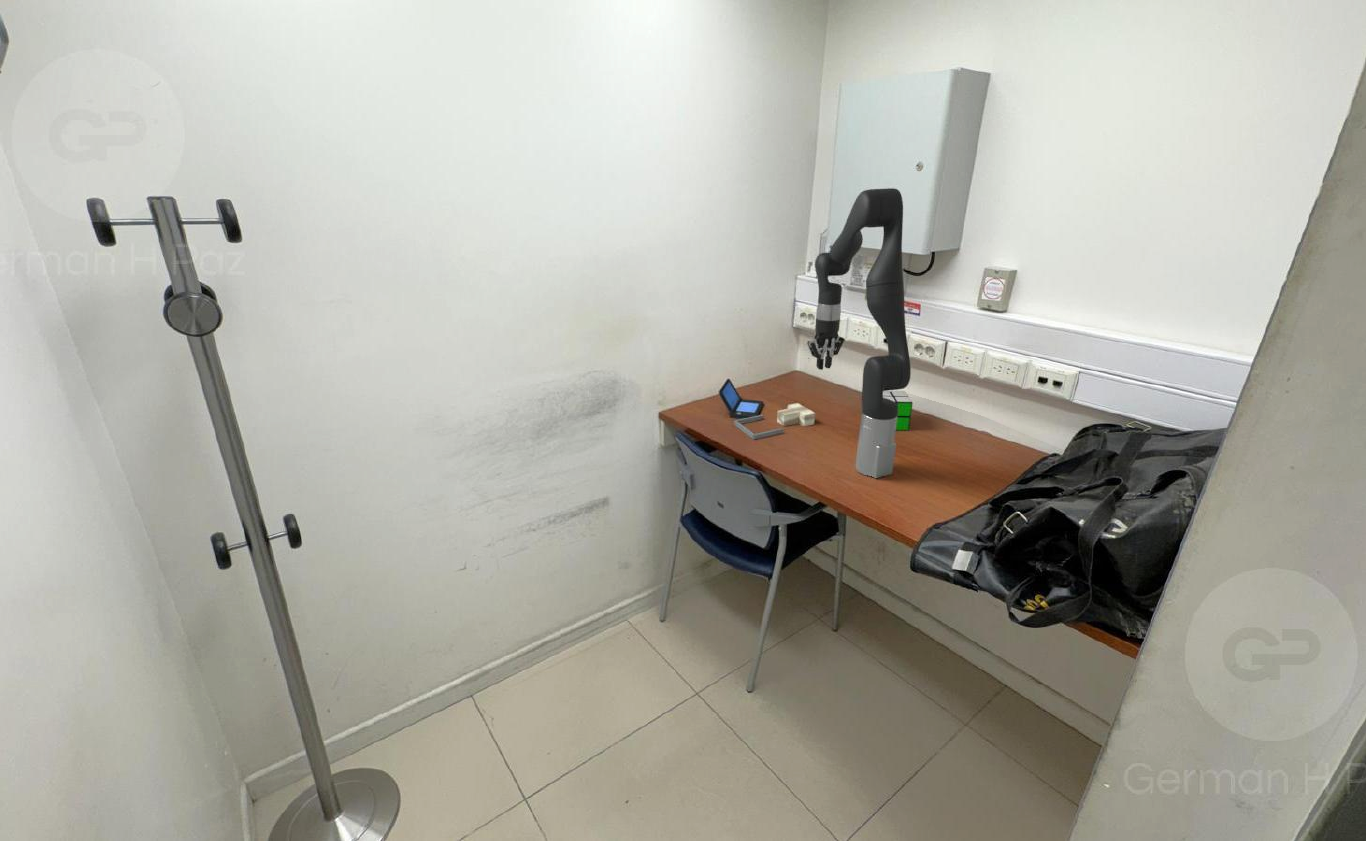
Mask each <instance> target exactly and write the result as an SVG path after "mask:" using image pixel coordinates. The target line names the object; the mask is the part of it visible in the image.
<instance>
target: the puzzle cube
mask: <svg viewBox="0 0 1366 841" xmlns="http://www.w3.org/2000/svg"><path fill="white" fill-rule="evenodd" d="M883 398H886V399H889V400H892V401H894V402H895V403H896V404H897V405H898V416H897V423H896V430H895V431H905V432H906V431H909V429H910V424H911V415H912V409H913V401H912V400H911V399H910V397H909V395H908V394H907V393H906V391H903V390H902V391H901V390H899V391H898V390H888V391H883Z"/></svg>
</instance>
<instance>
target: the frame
mask: <svg viewBox="0 0 1366 841" xmlns="http://www.w3.org/2000/svg"><path fill="white" fill-rule="evenodd" d="M763 420H764V415H763V414H758V416H754V417H749V418H744V419H743V418H738V419H736V420H733V426H735V427H736V428H737V429H738V430H740V431H742V432H743V433H745V434H746V435H747V436H748V437H750V438H751V439H752V440H754V441H755V440H759V439H763V438H767V437H771V436H776V435H780V434H784V428H782V427H781V428H777V429H773V430H767V431H763V432H762V431H761V432H759V433H753V432H752V431H751V430H749V429H748V428H747V427H745V426H744V425H743V424H748V423H753V422H758V421H763Z"/></svg>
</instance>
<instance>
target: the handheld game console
mask: <svg viewBox="0 0 1366 841" xmlns="http://www.w3.org/2000/svg"><path fill="white" fill-rule="evenodd" d="M718 395H719V397H720V399H721V400H722V402H723V404H724V405H725V407H726V409H727V410H728V412H729V418H731V417H732V418H734V419H735V418H736V419H744V418H749V417H754V416H759V415H760V412H761V410H762V408H763V406H764V401H762V400H755V399H747V398H746V399H745V398H742V397H741V396H740V394H739V392H738V391H737V390H736V388H735V386H734V384H733V382H732V380H731V379H730V378H727V379H726V380H725V382H724V384H723V385H722V386H721V387H720V389H719V391H718Z"/></svg>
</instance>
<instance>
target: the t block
mask: <svg viewBox="0 0 1366 841" xmlns="http://www.w3.org/2000/svg"><path fill="white" fill-rule="evenodd" d="M815 417H816V413H815V412H814V411H812V410H811V409H808V408H807V407H805V406H803V405H801V403H798V402H796V403H791V404H790V403H789V404H787V408H785V409H780V410H777V417H776V422H777V423H778V424H780V425H781V426H783V427H785V426H786V427H787V426H791V425H795V424H796V425H797V424H800V425H801V426H803V427H808V426H811V425H815V421H816V420H815Z"/></svg>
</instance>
